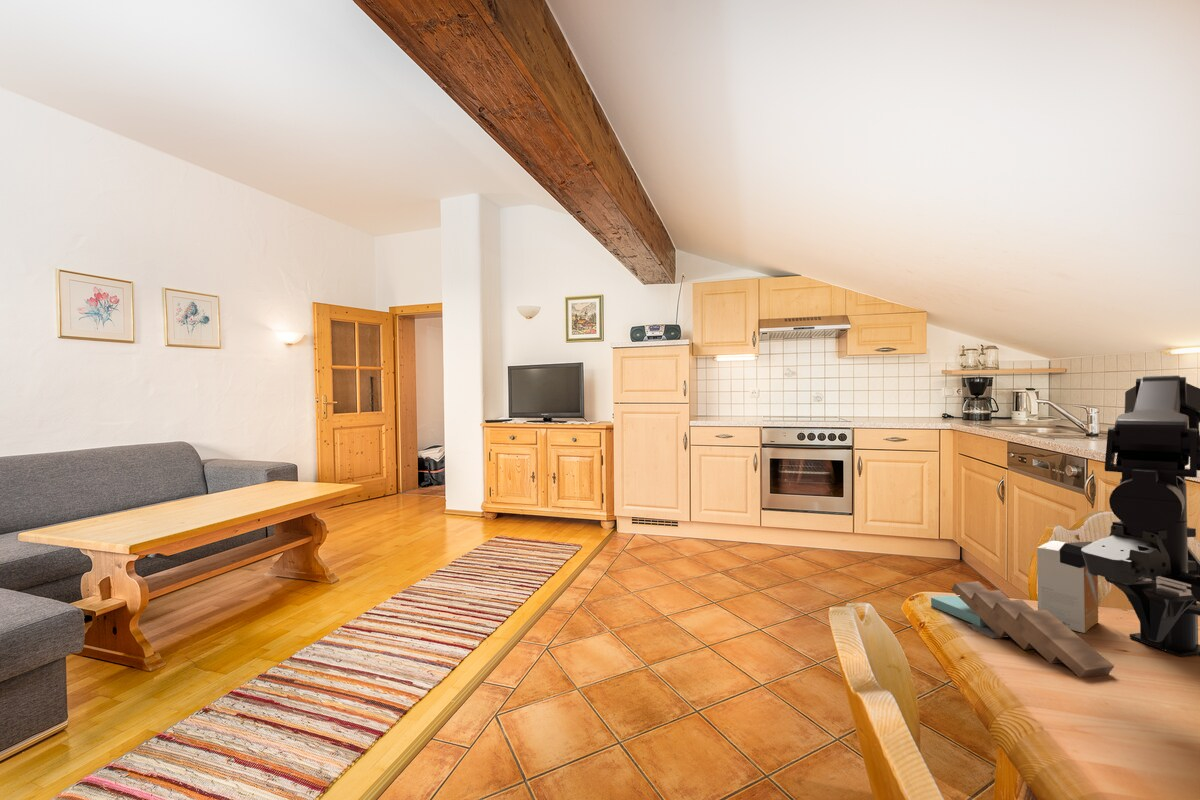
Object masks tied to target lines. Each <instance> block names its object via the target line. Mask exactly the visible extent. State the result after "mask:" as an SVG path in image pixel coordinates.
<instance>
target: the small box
mask: <svg viewBox="0 0 1200 800" xmlns="http://www.w3.org/2000/svg"><path fill="white" fill-rule="evenodd" d="M1065 543H1066V542H1065V541H1057V540H1051V541H1048V542H1045V543H1043V544H1042V545H1039V546H1038V547H1036V567H1037V571H1036V573H1037V575H1036V576H1037V610H1045V609H1046V610H1047V611H1049V612H1050V613H1051V614H1052V615H1053V616H1055V617H1056V618H1057V619H1058V620H1059V621H1061V622H1062V623H1063V624H1064V625H1065V626H1067V627H1068V628H1069V629H1070V630H1072V631H1073V632H1074V631H1075V632H1079V633H1081V634H1086V633H1087V632H1088V631H1089V630H1090V629H1092V627H1094V626H1095V625H1096V624H1098V623H1099V575H1098V576H1095V575H1092V574H1090V573H1089V572H1088V570H1087V567H1086V566H1085V567H1084V568H1077V567H1074V566H1070V565H1067V564H1064V563H1060V562H1059V549H1060V548H1061V547H1062V546H1063V545H1064V544H1065Z"/></svg>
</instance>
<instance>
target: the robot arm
mask: <svg viewBox="0 0 1200 800" xmlns="http://www.w3.org/2000/svg"><path fill="white" fill-rule="evenodd" d="M1105 447H1106V448H1105V459H1104V472H1109V473H1110V472H1111V473H1121V478H1120V479H1119V484H1118V485H1117V486H1116V487H1115V488H1114V489H1113V490H1112V491H1111V494H1110V496H1109V498H1108V499H1109V501H1108V502H1109V508H1110V511H1111V512H1112V514H1114V516H1115V517H1116V518H1117V519H1118V520H1119V521H1112V525H1111V526H1110V533H1109V535H1108V537H1107V536H1106V537H1102V538H1100V539H1096V540H1095V541H1078V542H1077V541H1076V542H1075V541H1074V542H1065V544H1064V545H1063V546H1062V547H1061V548H1060V549H1059V562H1060V563H1064V564H1067V565H1070V566H1074V567H1077V568H1084V567H1085V566H1086V567H1087V570H1088V572H1089V573H1090V574H1092V575H1095V576H1098V577H1099V576H1100V577H1102V578H1104V580H1105V581H1106V582H1107V583H1110V584H1113V585H1114V586H1115V587H1116V588H1118V589H1119V590H1120V591H1121V592H1122V593H1124V595H1125V597H1126V598H1127V600H1128V602H1129V603H1130V604H1131V607H1132V608H1133V610H1134V612H1135V614H1136V617H1137V619H1138V621H1139V632H1135V633H1129V638H1130V639H1133V640H1135V641H1139V642H1141V643H1144V644H1146V645H1149V646H1151V647H1154V648H1157V649H1160V650H1163V651H1165V652H1167V653H1169V654H1172V655H1174V656H1178V657H1179V656H1180V657H1185V656H1186V657H1187V656H1193V655H1200V644H1199V623H1198V622H1199V620H1198V619H1199V618H1198V617H1199V616H1200V559H1199V558H1198V557H1197V555H1196V554H1195V553H1194V552H1193V551H1192V549H1191V548H1190V547H1189V546H1188V545H1189V544H1188V543H1189V542H1188V538H1196V536H1197V533H1196V532H1197V529H1196V528H1194V527H1189V526H1188V502H1187V501H1188V499H1187V498H1188V496H1187V493H1188V492H1187V483H1186V478H1195V479H1196V478H1197V477H1198V471H1200V387H1197V386H1195V385H1192V384H1190V383H1187V377H1186V376H1180V375H1154V376H1153V375H1152V376H1149V375H1148V376H1142V377H1141V378H1140V377H1139V378H1138V377H1137V378H1136V379H1135V385H1134V386H1133V387H1131V388H1130V389H1128V390H1126V391H1125V392H1124V413H1121V414H1119V415H1118V416H1117V418H1116V420H1115V422H1114V426H1108V429H1107V437H1106V446H1105ZM1116 454H1117V455H1116ZM1115 458H1116V461H1115ZM1115 462H1116V463H1115ZM1114 463H1115V464H1114ZM1188 465H1189V468H1186V466H1188Z"/></svg>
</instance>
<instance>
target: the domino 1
mask: <svg viewBox="0 0 1200 800" xmlns="http://www.w3.org/2000/svg"><path fill="white" fill-rule="evenodd" d="M930 604H931V605H930V606H931V607H933V608H935V609H937V610H940V611H942V612H945V613H946V614H949V615H952V616H954V617H956V618H959V619H962V620H963V621H966V622H968V623H970V624H975V625H978V626H980V627H981V626H988V625H987V624H986V623H985V622H984V621H983V620H982V619H981V618H980V617H979V616H978V615H977V614H976V613H975V612H974V611H973V610H972V609H971V608H970V607H969V606H967V605H966V604H965V603H964V602H963V601H962V600H961V599H960V598H959V597H958V596H957V595H954V596H951V595H943V596H942V595H941V596H932V597H930Z"/></svg>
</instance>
